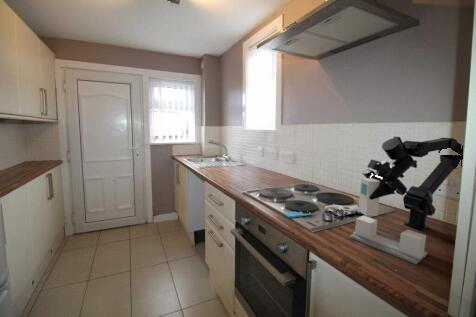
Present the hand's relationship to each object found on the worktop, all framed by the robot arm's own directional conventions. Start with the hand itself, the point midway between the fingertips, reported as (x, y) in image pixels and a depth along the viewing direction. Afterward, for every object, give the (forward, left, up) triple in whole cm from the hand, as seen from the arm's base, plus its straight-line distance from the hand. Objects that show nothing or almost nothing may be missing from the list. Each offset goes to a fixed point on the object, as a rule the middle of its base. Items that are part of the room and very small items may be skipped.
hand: (365, 196), depth 90 cm
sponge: (+13, -22, -14) cm, 29 cm away
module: (-1, +1, -7) cm, 7 cm away
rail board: (+4, +12, -13) cm, 18 cm away
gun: (-10, -16, -14) cm, 23 cm away
